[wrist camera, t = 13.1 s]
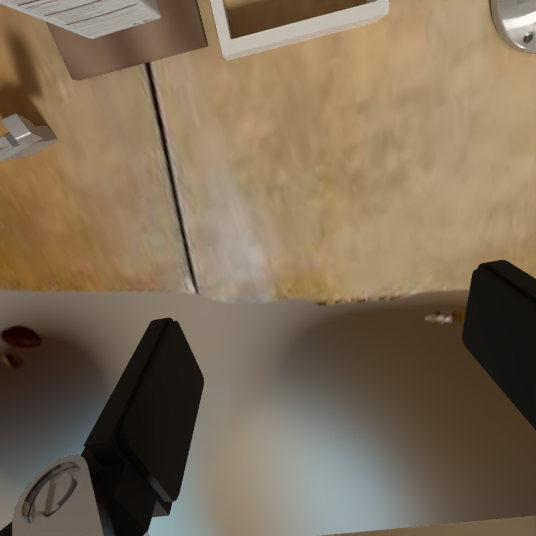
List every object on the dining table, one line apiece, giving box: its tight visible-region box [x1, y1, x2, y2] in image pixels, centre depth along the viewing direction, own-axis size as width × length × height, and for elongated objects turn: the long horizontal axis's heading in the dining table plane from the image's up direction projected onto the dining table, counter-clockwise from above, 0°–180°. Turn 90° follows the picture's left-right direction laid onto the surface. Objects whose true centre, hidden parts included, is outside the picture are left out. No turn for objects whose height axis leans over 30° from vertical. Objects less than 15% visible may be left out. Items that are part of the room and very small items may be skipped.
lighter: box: [0, 113, 57, 161], centre depth 29 cm, size 7×2×8 cm, turn 114°
